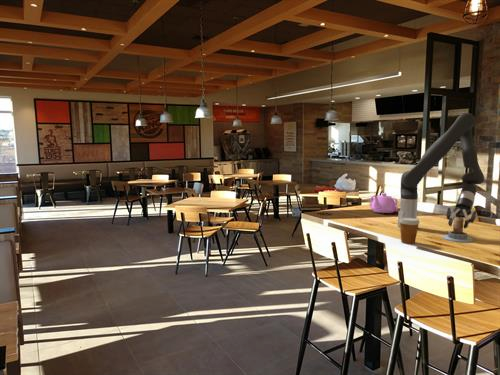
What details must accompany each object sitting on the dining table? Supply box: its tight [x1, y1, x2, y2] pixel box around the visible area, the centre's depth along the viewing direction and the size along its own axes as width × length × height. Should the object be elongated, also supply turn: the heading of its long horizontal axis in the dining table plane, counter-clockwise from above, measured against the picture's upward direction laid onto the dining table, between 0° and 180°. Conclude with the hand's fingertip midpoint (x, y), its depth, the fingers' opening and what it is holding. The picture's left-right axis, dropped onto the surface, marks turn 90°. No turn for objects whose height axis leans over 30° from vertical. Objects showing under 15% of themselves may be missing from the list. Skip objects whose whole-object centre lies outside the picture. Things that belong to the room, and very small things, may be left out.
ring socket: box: [441, 230, 474, 244], centre depth 201 cm, size 14×14×3 cm
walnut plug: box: [452, 217, 465, 235], centre depth 200 cm, size 4×4×10 cm
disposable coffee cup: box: [399, 217, 420, 245], centre depth 193 cm, size 10×10×12 cm
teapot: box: [369, 192, 399, 214], centre depth 278 cm, size 22×22×14 cm
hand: (457, 226), depth 199 cm, fingers open, 6 cm apart
